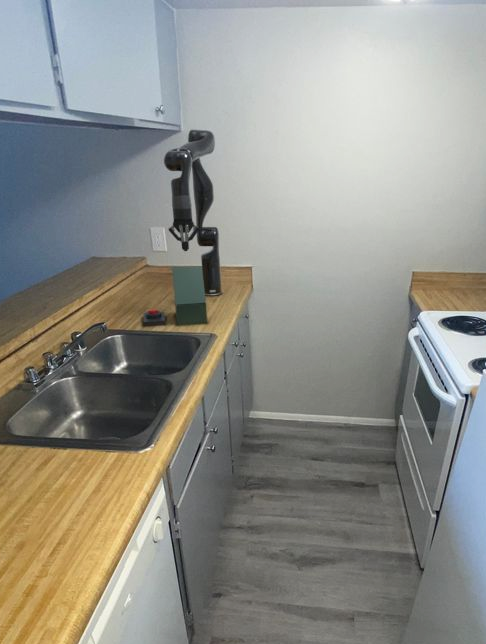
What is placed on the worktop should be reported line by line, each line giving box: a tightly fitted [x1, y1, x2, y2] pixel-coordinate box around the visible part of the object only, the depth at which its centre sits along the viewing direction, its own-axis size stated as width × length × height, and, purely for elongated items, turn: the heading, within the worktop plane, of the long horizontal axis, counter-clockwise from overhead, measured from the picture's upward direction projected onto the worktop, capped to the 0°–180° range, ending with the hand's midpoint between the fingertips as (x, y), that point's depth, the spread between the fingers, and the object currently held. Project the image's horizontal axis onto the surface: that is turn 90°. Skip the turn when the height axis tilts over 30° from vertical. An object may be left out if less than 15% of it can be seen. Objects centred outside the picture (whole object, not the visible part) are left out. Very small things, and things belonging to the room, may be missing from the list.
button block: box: [142, 310, 166, 328], centre depth 207 cm, size 12×9×4 cm
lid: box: [171, 265, 207, 305], centre depth 201 cm, size 16×13×1 cm
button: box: [148, 308, 159, 314], centre depth 205 cm, size 4×4×2 cm
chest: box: [173, 295, 208, 326], centre depth 209 cm, size 16×13×9 cm
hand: (185, 250), depth 198 cm, fingers closed
